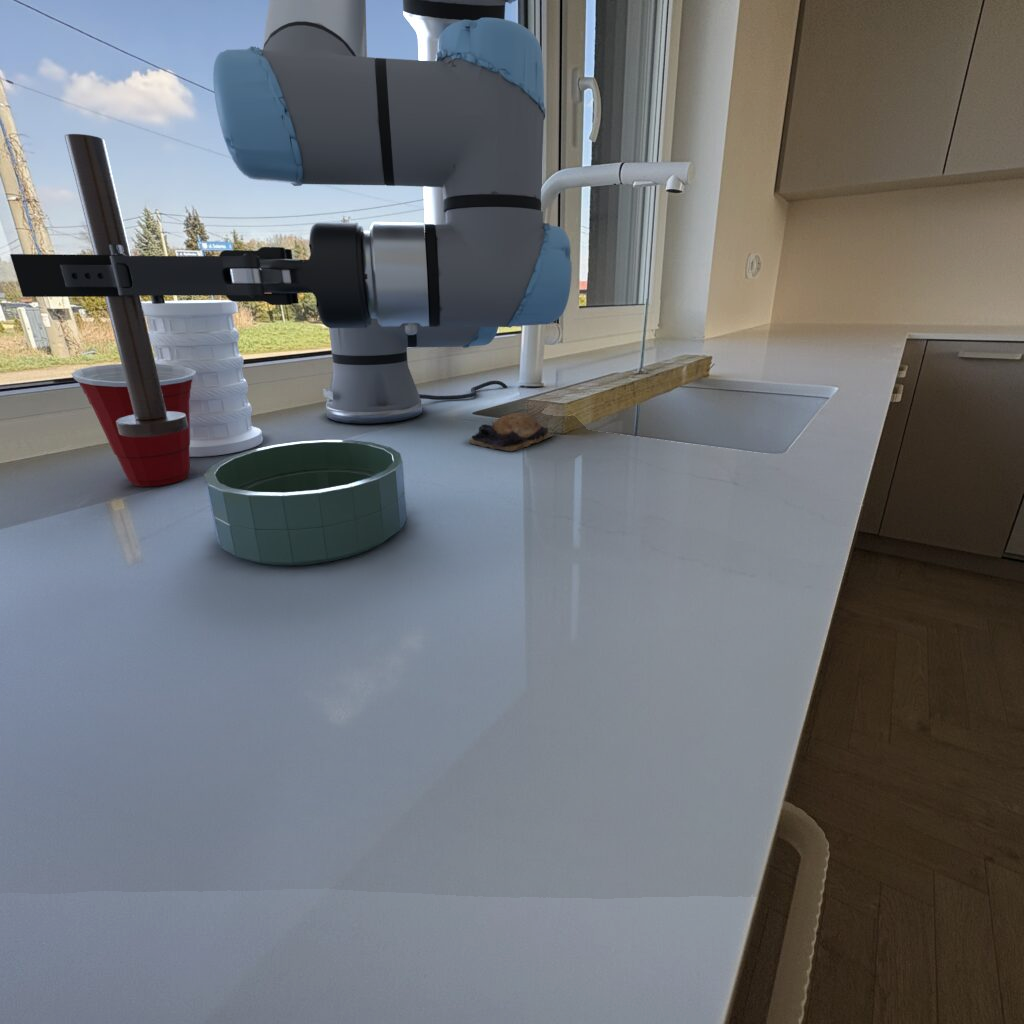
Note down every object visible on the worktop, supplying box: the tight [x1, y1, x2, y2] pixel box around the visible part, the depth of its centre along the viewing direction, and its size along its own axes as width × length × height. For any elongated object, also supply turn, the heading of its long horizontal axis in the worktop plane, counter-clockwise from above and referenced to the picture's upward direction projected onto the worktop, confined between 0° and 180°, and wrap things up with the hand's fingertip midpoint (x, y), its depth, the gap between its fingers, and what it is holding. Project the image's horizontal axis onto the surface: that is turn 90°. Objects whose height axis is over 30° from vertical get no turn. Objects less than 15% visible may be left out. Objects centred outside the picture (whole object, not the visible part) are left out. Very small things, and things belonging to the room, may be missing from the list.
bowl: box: [203, 439, 408, 566], centre depth 49 cm, size 16×16×6 cm
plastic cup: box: [70, 363, 196, 488], centre depth 61 cm, size 11×11×12 cm
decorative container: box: [141, 299, 264, 458], centre depth 73 cm, size 12×12×18 cm
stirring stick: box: [64, 133, 188, 437], centre depth 42 cm, size 5×5×20 cm
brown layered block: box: [468, 412, 554, 453], centre depth 78 cm, size 11×8×4 cm
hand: (33, 276), depth 40 cm, fingers closed on stirring stick, 2 cm apart
